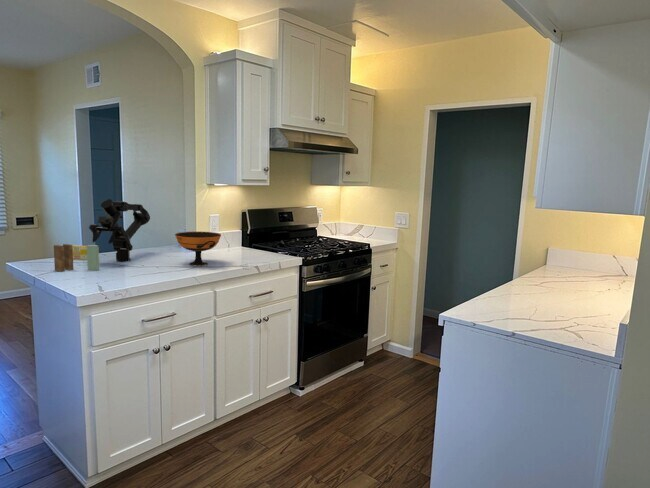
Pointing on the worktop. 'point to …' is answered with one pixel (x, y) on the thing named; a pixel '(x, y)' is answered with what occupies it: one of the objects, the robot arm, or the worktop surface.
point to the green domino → (92, 257)
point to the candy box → (80, 252)
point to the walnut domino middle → (68, 256)
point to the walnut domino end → (59, 258)
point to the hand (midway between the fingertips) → (101, 242)
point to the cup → (198, 243)
